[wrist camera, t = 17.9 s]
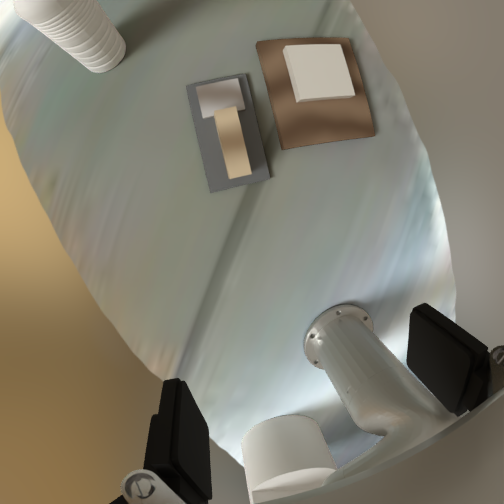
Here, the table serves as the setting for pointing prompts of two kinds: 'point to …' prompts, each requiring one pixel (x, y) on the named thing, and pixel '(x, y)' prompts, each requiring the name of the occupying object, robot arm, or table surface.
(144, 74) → the table surface
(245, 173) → the turner
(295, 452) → the cylinder
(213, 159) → the mat
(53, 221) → the table surface
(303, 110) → the board
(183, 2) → the table surface
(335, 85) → the tile
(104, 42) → the water bottle
